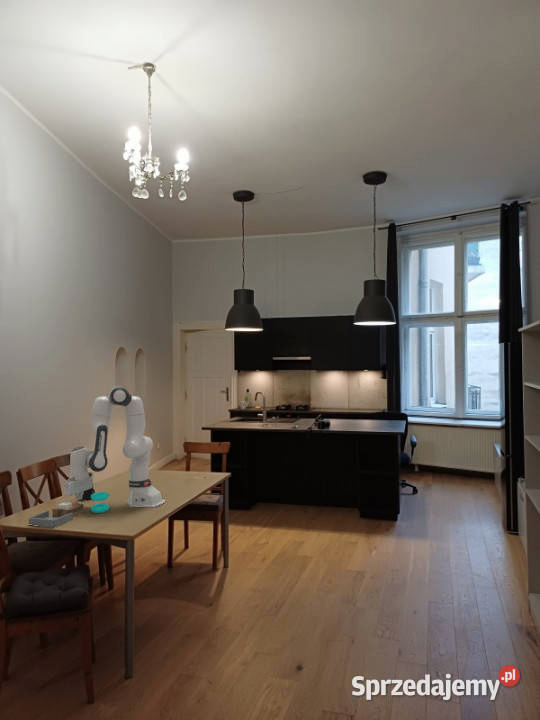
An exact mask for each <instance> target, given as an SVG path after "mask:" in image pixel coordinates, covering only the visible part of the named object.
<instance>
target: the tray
mask: <svg viewBox="0 0 540 720" xmlns="http://www.w3.org/2000/svg"><path fill="white" fill-rule="evenodd" d="M71 520H72V521H73V520H74V517H73V513H69V514H67V515H64V516H62V517H53V516H50V510H45V511H43V512H40V513H38V514H35V515H33V516H29V517H28V525H29V524H32V525H38V526H43V527H42V528H48V527H49V529H56V528H57V526H58V527H60V526H62V524H63V525H64V523H65V524H67V523H69V522H72V521H71ZM68 521H69V522H68ZM66 522H67V523H66ZM59 525H60V526H59ZM38 526H37V527H38ZM55 527H56V528H55Z"/></svg>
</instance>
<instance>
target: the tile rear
mask: <svg viewBox="0 0 540 720" xmlns="http://www.w3.org/2000/svg"><path fill="white" fill-rule="evenodd" d="M65 502H70V503H72V506H75V505H78V504H80V501H79V500H76V499H69V500H67V501H65Z"/></svg>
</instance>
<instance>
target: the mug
mask: <svg viewBox="0 0 540 720" xmlns="http://www.w3.org/2000/svg"><path fill="white" fill-rule="evenodd" d="M93 493H96V491H95V489H94V486H93V487H92V488H91V489H88V490H85V491H84V493H83V496H82V499H81V500H87V501H91V500H92V499H91V495H92V494H93ZM79 494H80V493H79Z"/></svg>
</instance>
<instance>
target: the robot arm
mask: <svg viewBox="0 0 540 720" xmlns="http://www.w3.org/2000/svg"><path fill="white" fill-rule="evenodd" d="M92 405H93V406H92V410H91V414H90V415H91V416H90V427H91V428H92V431H93V433H94V435H95V436H94V437H95V440H94V449H93V450H91V449H89V448H87V447H85V446H77V447H75V448H73V449H72V450H71V452H70V459H69V460H70V461H69V465H70V478H68V479H67V480H66V481H65V485H64V495H65V496H66V497H67V496H68V497H70V496H75V497H76V498H75V500H81V499H82V496H83V493H84V491H85V490H88V489H91V488H92V487H93V488H94V477H93V475H94V473H93V472H95V473H100V472H103V471H104V470H105V469H106V467H108V463H109V461H108V457H107V444H108V443H107V442H108V433H109V427H110V423H111V417H112V411H113V408H114V407H116V406H121V407H123V408H124V411H125V412H124V413H125V422H126V423H125V425H126V435H125V440H124V444H123V446H122V454H123V455H124V457H126V458H128V459H131V462H130V464H129V469H128V470H129V471H128V472H129V480H128V487H129V488H128V489H129V494H128V500H127V502H126V503H127V505H128V506H129V507H130V508H157V507H159V505H160V506H162V505H164V504H165V503H166V502H165V501H166V499H162V493H161V492H160V490H158V489H157V488H156V487H154V485H152V483H153V480H151V479H150V478H149V477H150V475H149V474H150V473H149V465H150V458H151V452H152V450H153V447H154V442H153V440H152V439H151V437H149V436H145V435H144V433H145V429H146V424H147V423H146V416H145V408H144V403H143V401H142V398H141V397H139V396H137V395H136V396H135V395H131V394H130V392H129V391H128V390H127V388H125V387H124V386H120V385H119V386H115V387H113V388H112V389H111V390H110V392H108V394H106V395H105V396H104V395H103V396H98V397H96V398H95V400H94V402H93V404H92ZM87 469H91V470H92V472H91V471H88V470H87ZM79 493H80V494H79ZM163 503H164V504H163ZM161 504H162V505H161ZM156 506H157V507H156Z"/></svg>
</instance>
